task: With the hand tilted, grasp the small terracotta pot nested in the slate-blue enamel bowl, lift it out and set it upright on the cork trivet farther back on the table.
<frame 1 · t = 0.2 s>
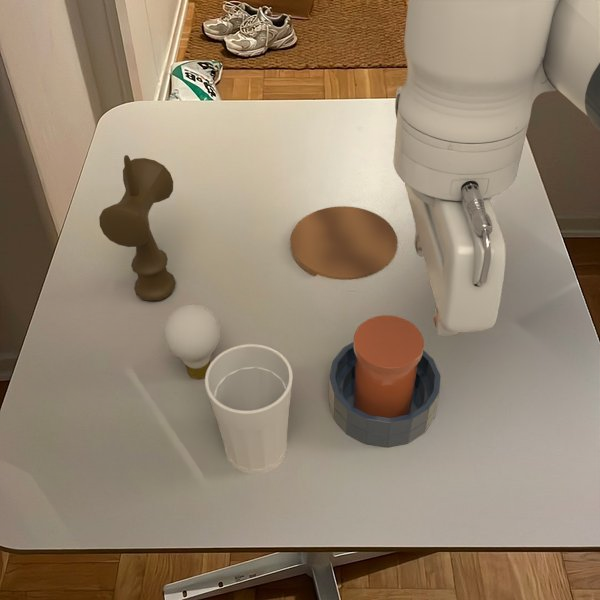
hand: (434, 288, 62), 21 cm above the table, tool pointing down, fingers open, 8 cm apart
bowl: (381, 405, 79), on the table
kendama: (156, 290, 92), on the table
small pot: (382, 401, 79), point 1 cm above the table, touching bowl
trivet: (343, 245, 97), on the table
cup: (256, 450, 76), on the table
light bulb: (200, 375, 83), on the table
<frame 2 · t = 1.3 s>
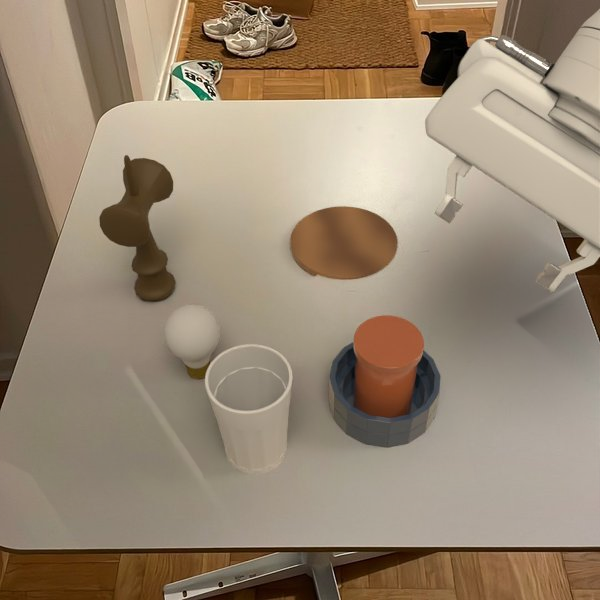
hand: (492, 252, 58), 26 cm above the table, tool tilted 40°, fingers open, 8 cm apart
nothing on the table moved.
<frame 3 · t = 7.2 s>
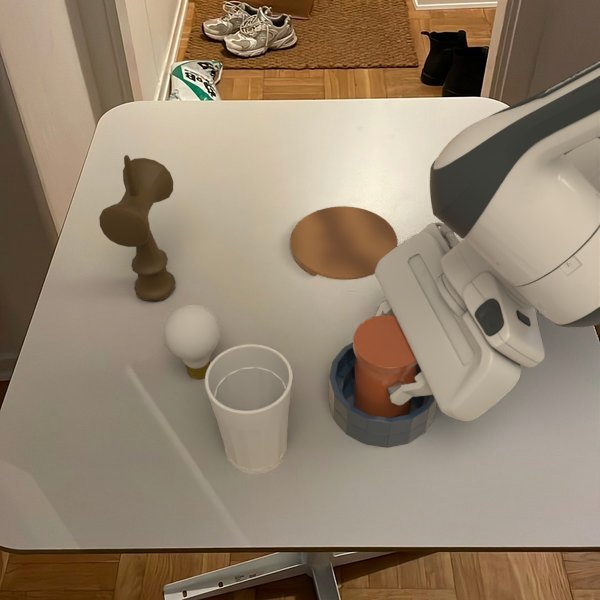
hand: (379, 369, 74), 6 cm above the table, tool tilted 45°, fingers closed on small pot, 6 cm apart
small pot: (382, 401, 79), point 1 cm above the table, touching bowl, gripper
everything else where it was.
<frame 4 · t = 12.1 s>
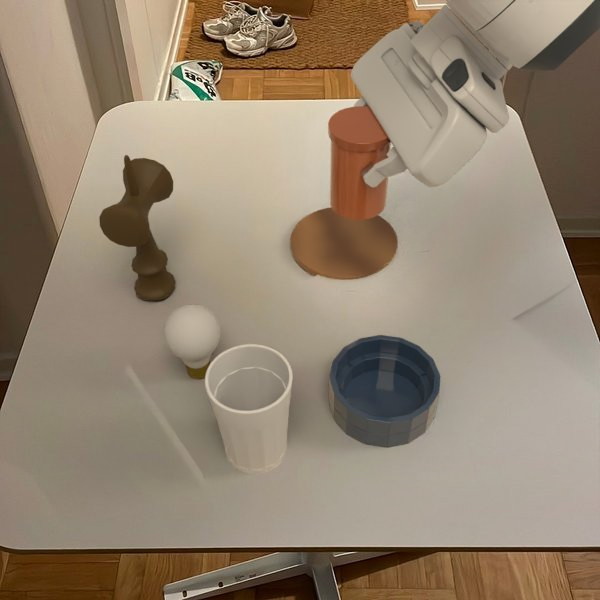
hand: (354, 160, 77), 19 cm above the table, tool tilted 45°, fingers closed on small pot, 6 cm apart
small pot: (357, 202, 82), point 14 cm above the table, touching gripper
everything else where it was.
when the fingers open (7 cm above the table, at t = 17.2 s): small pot stays where it is, resting on trivet.
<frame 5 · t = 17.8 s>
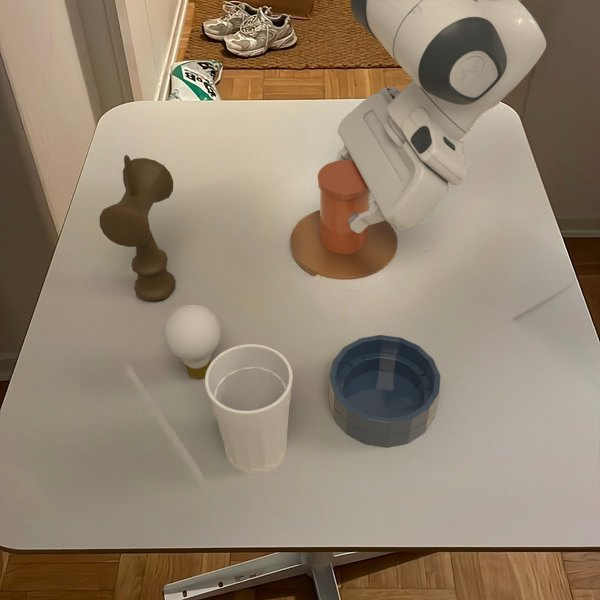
hand: (340, 204, 92), 7 cm above the table, tool tilted 45°, fingers open, 8 cm apart
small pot: (343, 238, 97), point 1 cm above the table, touching trivet
everything else where it was.
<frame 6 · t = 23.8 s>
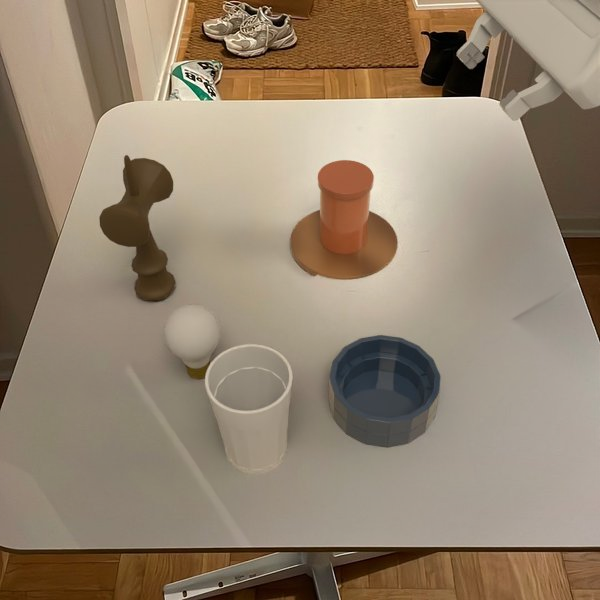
hand: (483, 86, 68), 29 cm above the table, tool tilted 45°, fingers open, 8 cm apart
nothing on the table moved.
at the end: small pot inside the target area on the trivet (0.2 cm from its centre), point 1.0 cm above the trivet's base; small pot tilted 0°; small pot touching trivet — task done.
